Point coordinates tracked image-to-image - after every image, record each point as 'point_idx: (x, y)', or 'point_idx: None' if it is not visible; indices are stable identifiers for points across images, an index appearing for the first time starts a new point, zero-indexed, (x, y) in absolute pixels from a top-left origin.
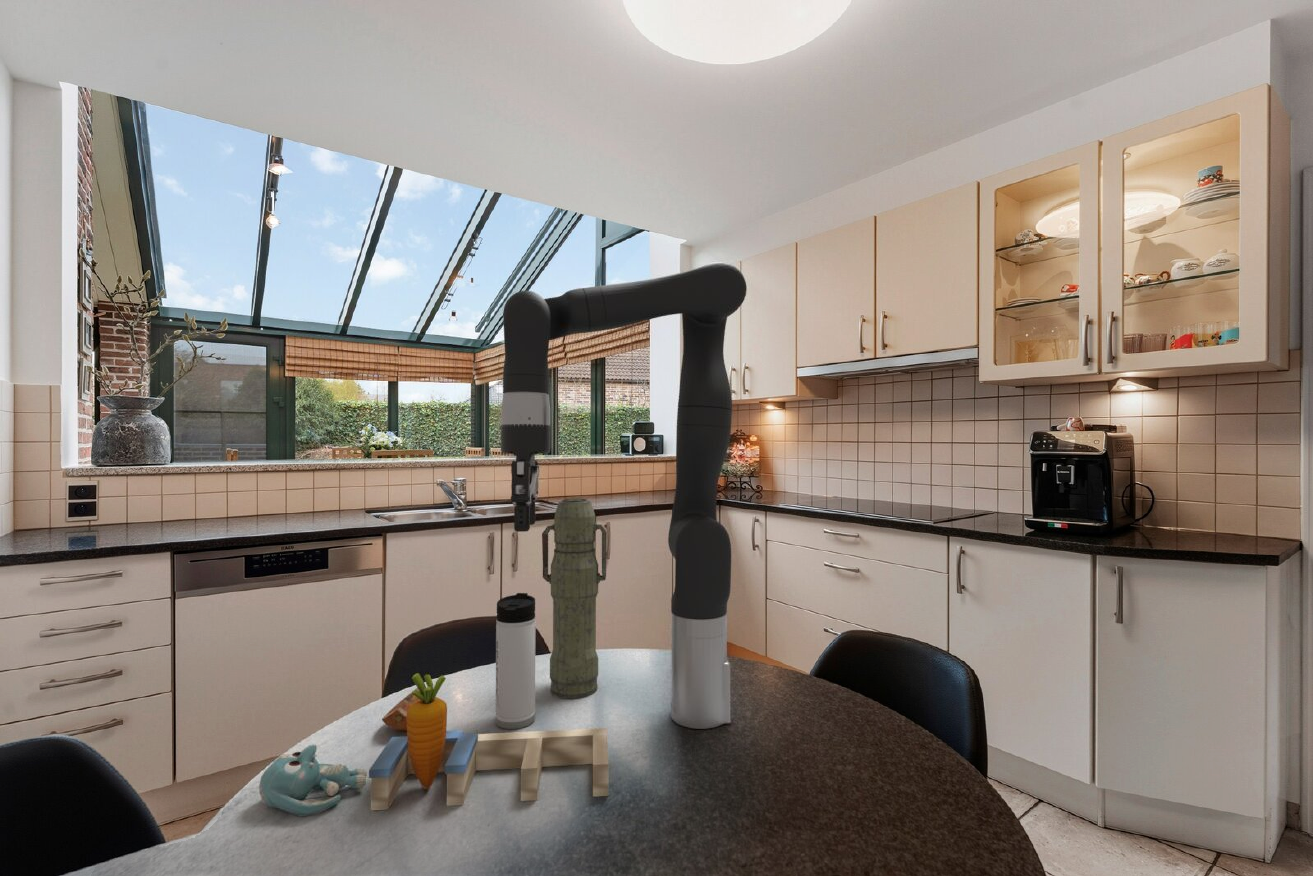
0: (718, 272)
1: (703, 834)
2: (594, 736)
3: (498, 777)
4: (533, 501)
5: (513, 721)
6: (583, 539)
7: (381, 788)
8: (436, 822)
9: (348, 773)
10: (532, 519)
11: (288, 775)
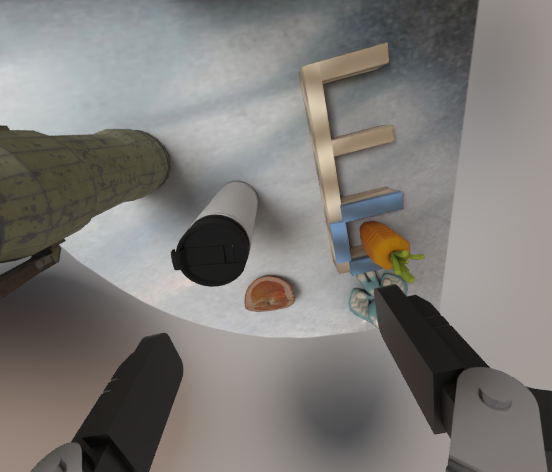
0: None
1: None
2: (325, 77)
3: (344, 174)
4: (90, 444)
5: (256, 197)
6: None
7: None
8: (407, 196)
9: (372, 283)
10: (159, 352)
11: None
